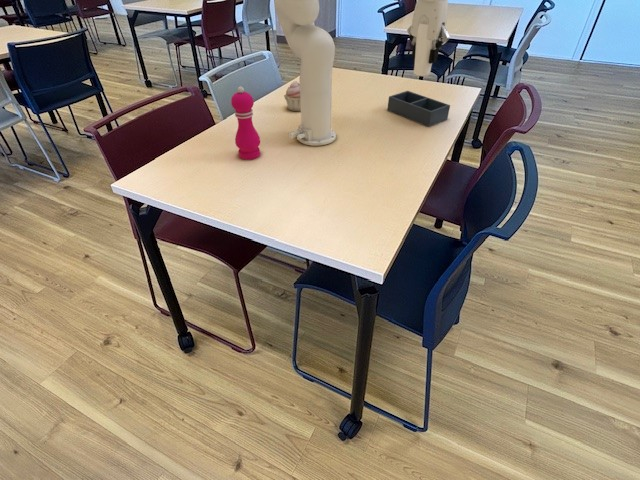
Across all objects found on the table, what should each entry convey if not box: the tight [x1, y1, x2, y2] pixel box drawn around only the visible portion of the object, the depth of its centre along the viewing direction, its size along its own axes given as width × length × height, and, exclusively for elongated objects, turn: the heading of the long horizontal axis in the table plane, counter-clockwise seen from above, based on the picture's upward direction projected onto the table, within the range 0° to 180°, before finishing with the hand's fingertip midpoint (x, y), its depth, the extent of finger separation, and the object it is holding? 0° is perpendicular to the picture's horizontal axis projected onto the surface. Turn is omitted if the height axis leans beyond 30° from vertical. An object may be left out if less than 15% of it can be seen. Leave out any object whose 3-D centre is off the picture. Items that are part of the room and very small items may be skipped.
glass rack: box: [387, 90, 451, 127], centre depth 135 cm, size 10×19×5 cm, turn 38°
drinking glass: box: [413, 23, 437, 77], centre depth 119 cm, size 7×7×15 cm
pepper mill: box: [230, 86, 261, 161], centre depth 107 cm, size 7×7×20 cm
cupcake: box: [283, 80, 301, 112], centre depth 139 cm, size 9×9×10 cm
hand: (423, 59), depth 121 cm, fingers closed on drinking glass, 6 cm apart
